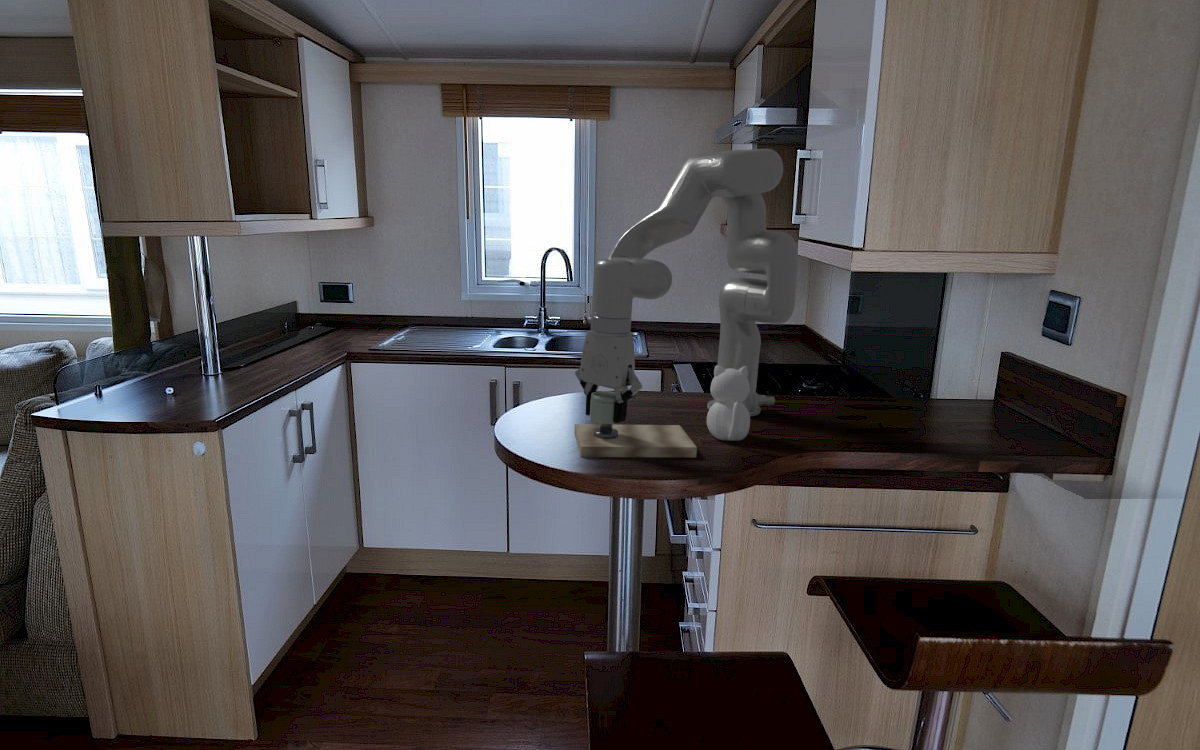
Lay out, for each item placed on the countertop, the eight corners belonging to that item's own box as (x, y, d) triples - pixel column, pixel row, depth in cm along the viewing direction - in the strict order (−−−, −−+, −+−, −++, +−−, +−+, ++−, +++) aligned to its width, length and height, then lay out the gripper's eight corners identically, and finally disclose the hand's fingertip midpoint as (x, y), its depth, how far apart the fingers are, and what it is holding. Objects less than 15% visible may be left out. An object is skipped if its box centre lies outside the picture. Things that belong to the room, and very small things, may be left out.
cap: (602, 413, 133) (604, 389, 132) (626, 420, 129) (628, 395, 128) (583, 418, 128) (585, 393, 127) (607, 425, 125) (609, 400, 124)
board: (678, 434, 139) (679, 425, 138) (696, 457, 125) (697, 447, 125) (574, 433, 136) (574, 424, 136) (580, 456, 123) (581, 446, 122)
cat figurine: (740, 429, 145) (746, 362, 142) (758, 447, 132) (765, 374, 129) (699, 429, 144) (705, 361, 141) (714, 447, 132) (721, 373, 129)
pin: (616, 431, 132) (618, 396, 131) (619, 439, 128) (621, 402, 126) (592, 431, 132) (593, 396, 130) (594, 438, 127) (596, 402, 125)
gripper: (563, 321, 127) (559, 412, 131) (636, 334, 117) (630, 431, 121) (588, 318, 133) (583, 405, 137) (660, 330, 122) (653, 423, 126)
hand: (605, 416), depth 129 cm, fingers closed on cap, 6 cm apart
